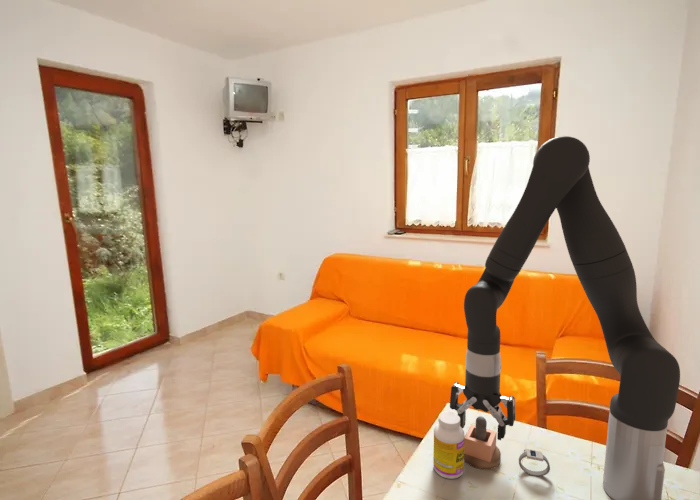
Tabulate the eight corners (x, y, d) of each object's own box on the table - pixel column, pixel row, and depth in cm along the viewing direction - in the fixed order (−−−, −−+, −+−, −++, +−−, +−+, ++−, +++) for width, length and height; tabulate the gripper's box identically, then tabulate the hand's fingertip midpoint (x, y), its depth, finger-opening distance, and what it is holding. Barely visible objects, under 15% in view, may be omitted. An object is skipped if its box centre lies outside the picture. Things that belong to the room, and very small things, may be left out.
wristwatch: (548, 472, 86) (549, 452, 85) (550, 481, 83) (551, 460, 82) (517, 466, 88) (518, 446, 87) (518, 475, 85) (519, 454, 84)
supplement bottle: (458, 484, 83) (459, 430, 81) (429, 473, 87) (429, 421, 84) (467, 465, 89) (468, 414, 87) (439, 455, 92) (439, 405, 90)
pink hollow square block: (496, 447, 92) (496, 431, 92) (490, 462, 87) (490, 446, 87) (470, 438, 95) (470, 424, 95) (463, 453, 90) (463, 437, 90)
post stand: (504, 451, 93) (505, 413, 91) (495, 475, 85) (497, 434, 84) (466, 439, 98) (467, 402, 96) (455, 460, 90) (456, 421, 89)
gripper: (446, 367, 89) (445, 431, 91) (513, 382, 81) (510, 452, 84) (456, 354, 95) (455, 415, 97) (519, 367, 87) (516, 433, 90)
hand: (480, 432), depth 91 cm, fingers open, 8 cm apart
